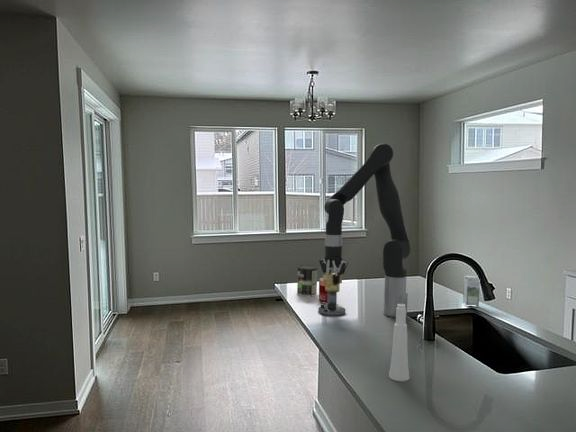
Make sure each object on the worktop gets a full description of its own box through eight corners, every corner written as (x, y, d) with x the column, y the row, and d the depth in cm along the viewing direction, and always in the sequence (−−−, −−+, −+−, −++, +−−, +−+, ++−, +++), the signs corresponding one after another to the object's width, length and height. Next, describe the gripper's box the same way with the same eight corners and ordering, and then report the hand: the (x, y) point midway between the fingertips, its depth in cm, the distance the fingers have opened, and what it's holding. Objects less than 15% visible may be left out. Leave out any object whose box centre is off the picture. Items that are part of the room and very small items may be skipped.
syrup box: (475, 304, 223) (476, 274, 222) (478, 307, 217) (480, 277, 216) (462, 303, 223) (464, 274, 222) (466, 307, 218) (467, 276, 216)
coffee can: (302, 297, 233) (303, 269, 232) (293, 292, 242) (294, 265, 241) (320, 295, 237) (321, 268, 236) (311, 290, 246) (311, 264, 245)
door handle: (335, 288, 210) (335, 271, 210) (344, 290, 205) (345, 274, 205) (317, 290, 204) (317, 274, 204) (326, 293, 199) (326, 276, 199)
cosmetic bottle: (394, 371, 142) (396, 300, 141) (412, 376, 139) (415, 304, 137) (384, 377, 138) (387, 304, 136) (403, 383, 134) (406, 308, 132)
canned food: (335, 303, 221) (336, 280, 220) (319, 303, 221) (319, 280, 221) (334, 299, 229) (335, 277, 228) (318, 299, 229) (318, 277, 228)
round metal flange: (350, 311, 207) (350, 290, 206) (336, 317, 198) (336, 296, 197) (327, 307, 214) (328, 286, 214) (313, 312, 205) (313, 291, 204)
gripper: (351, 245, 203) (351, 284, 204) (324, 242, 211) (324, 279, 213) (343, 247, 197) (342, 287, 198) (315, 244, 205) (315, 282, 207)
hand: (333, 283), depth 205 cm, fingers closed on door handle, 3 cm apart
